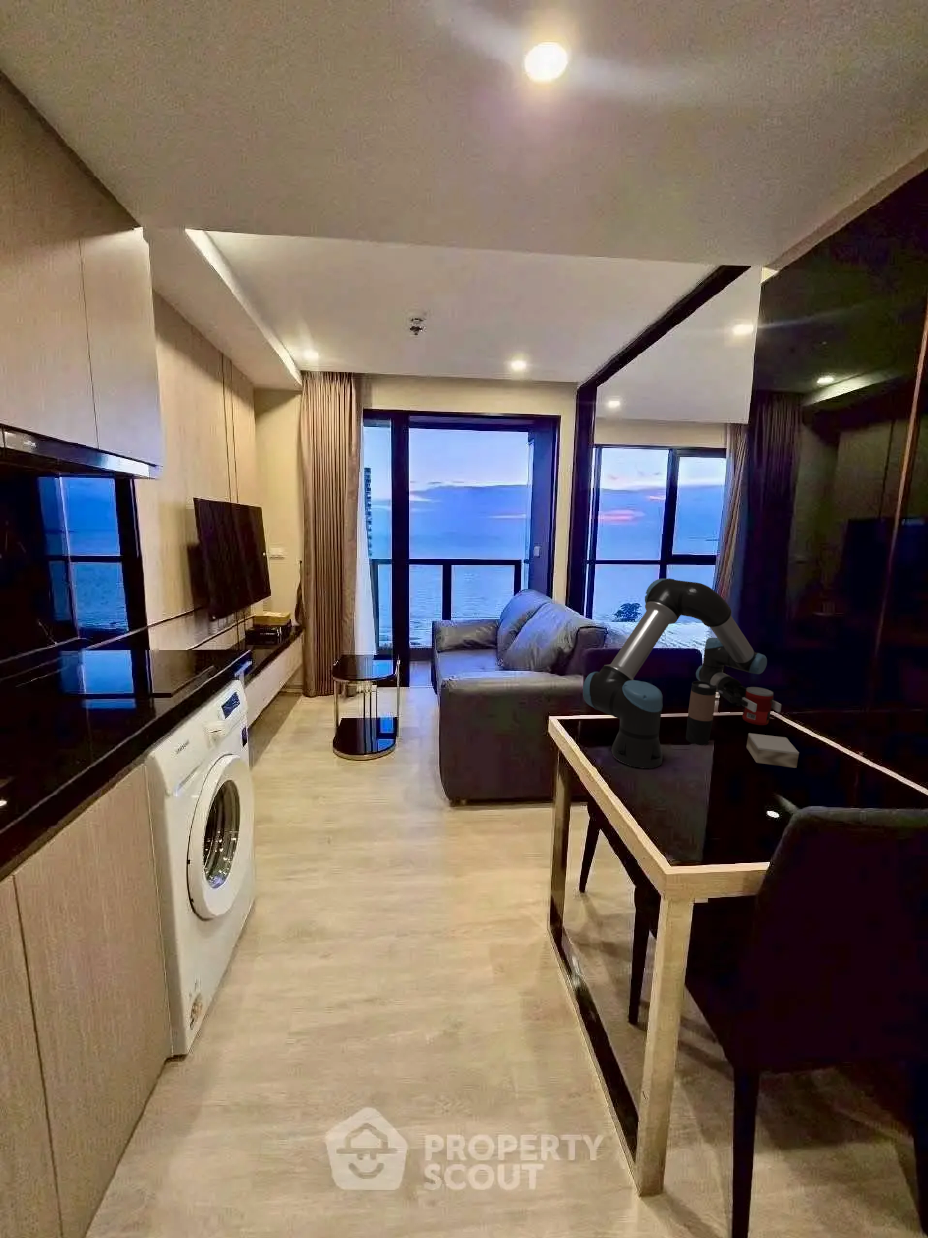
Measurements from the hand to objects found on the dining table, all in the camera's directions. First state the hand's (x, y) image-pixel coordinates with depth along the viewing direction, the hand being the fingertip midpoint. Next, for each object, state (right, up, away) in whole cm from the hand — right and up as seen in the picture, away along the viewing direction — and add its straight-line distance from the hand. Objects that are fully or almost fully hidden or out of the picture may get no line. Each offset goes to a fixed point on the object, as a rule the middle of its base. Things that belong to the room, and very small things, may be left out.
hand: (767, 708), depth 165 cm
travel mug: (-21, -12, +4) cm, 25 cm away
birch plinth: (-3, -14, -6) cm, 16 cm away
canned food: (-1, -6, +6) cm, 8 cm away
